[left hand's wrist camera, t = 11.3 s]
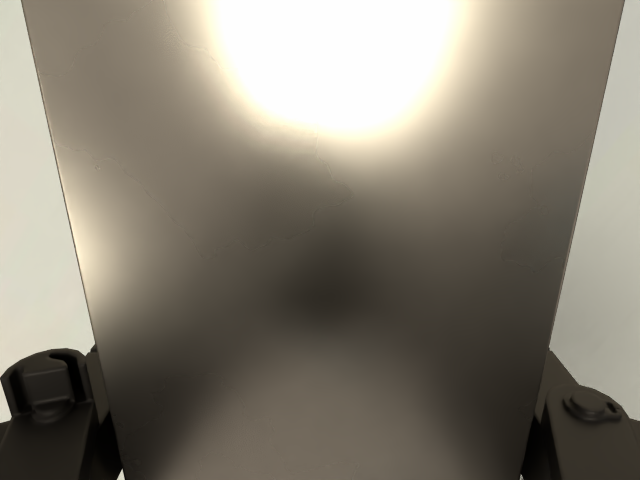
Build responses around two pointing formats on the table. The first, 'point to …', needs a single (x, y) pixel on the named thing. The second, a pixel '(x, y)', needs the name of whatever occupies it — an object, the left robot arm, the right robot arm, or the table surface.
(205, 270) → the box
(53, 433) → the left robot arm
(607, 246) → the table surface
